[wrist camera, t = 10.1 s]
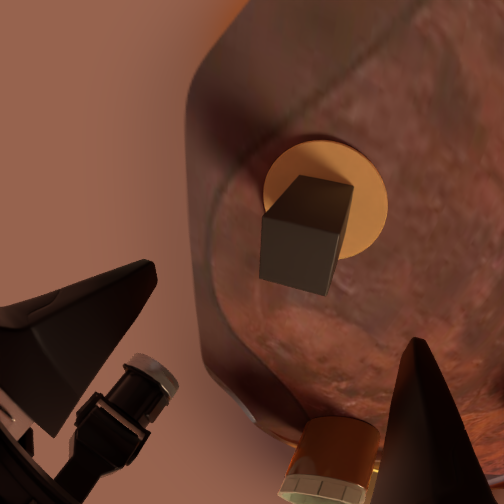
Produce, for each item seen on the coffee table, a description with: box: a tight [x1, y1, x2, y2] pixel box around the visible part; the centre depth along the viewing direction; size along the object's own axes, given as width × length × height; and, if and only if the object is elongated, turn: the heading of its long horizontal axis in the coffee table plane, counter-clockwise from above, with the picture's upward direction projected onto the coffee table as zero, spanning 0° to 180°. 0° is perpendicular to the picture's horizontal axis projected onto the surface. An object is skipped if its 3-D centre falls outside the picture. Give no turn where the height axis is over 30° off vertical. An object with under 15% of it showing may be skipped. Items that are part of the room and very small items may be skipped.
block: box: [259, 175, 354, 296], centre depth 14 cm, size 3×3×6 cm
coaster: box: [263, 140, 388, 259], centre depth 16 cm, size 7×7×1 cm
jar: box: [277, 416, 380, 504], centre depth 25 cm, size 9×9×9 cm
